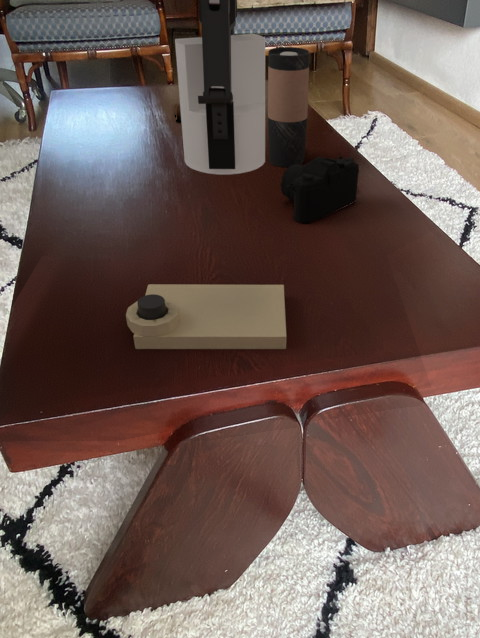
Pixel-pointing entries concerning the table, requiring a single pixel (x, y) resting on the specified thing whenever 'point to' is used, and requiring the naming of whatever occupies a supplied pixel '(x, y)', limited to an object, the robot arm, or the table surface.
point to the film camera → (320, 187)
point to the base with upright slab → (245, 97)
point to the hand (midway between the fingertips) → (224, 151)
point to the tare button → (151, 307)
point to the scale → (213, 318)
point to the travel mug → (287, 105)
